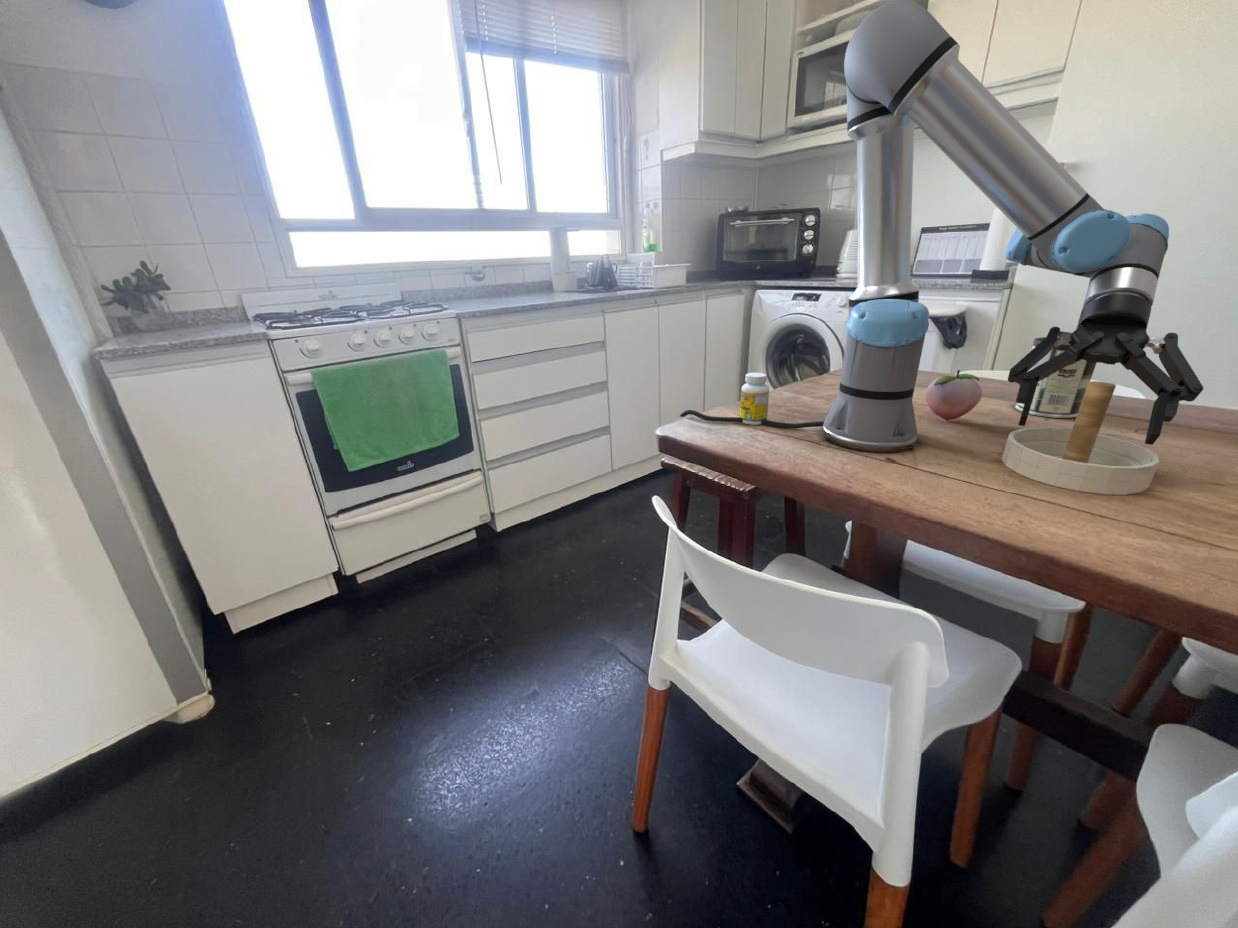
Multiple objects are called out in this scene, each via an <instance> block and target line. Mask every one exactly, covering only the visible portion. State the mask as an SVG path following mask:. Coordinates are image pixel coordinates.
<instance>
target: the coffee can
mask: <svg viewBox="0 0 1238 928" xmlns="http://www.w3.org/2000/svg"><path fill="white" fill-rule="evenodd" d="M1046 337H1047V336H1045V337H1036V338H1034V339H1033V341H1032V343H1033V344H1032V348H1031V351H1032V350H1033V349H1034V348H1035V347H1036V346H1037V345H1038V344H1040V343H1041V342H1042V341H1043V340H1044V339H1045V338H1046ZM1069 347H1071V345H1070V344H1069V342H1068V341H1066V342H1063V343H1062V344H1061V345H1059V346H1057V347H1053V348H1052V350H1051V351H1050V352H1049V353H1048V354H1047V355H1046V356H1044V357H1043V358H1042V359H1041V360H1040V361H1039V362H1038V363H1036V364H1035V365H1034V366H1033V367H1032V368H1031V369H1030V370H1032V369H1034V368H1035V367H1037V366H1039V365H1041V364H1043V363H1044V362H1046V361H1048V360H1050V359H1052V358H1054V357H1055V356H1057V355H1059V354H1061V353H1063V352H1064V351H1066V350H1067V349H1068V348H1069ZM1096 365H1097V363H1087V361H1085V360H1083V359H1082V360H1080V361H1078V362H1076V363H1074V364H1072V365H1068V366H1066V367H1064V368H1063V369H1061V370H1059V371H1057V372H1055V373H1053V374H1052V375H1050V376H1048V377H1046V378H1044V379H1042V380H1041V381H1039V382H1038V384H1037V387H1036V390H1035V394H1034V397H1033V401H1032V404H1031V407H1030V411H1029V414H1028V415H1033V416H1038V417H1044V418H1053V419H1054V418H1055V419H1072V418H1076V417H1077V414H1078V411H1079V408H1080V405H1081V402H1082V400H1083V397H1084V394H1085V391H1086V388H1087V385H1088V382H1091V380H1092V377H1093V374H1094V371H1095V369H1096ZM1030 370H1029V371H1030ZM1027 372H1028V371H1027ZM1014 408H1015V409H1016V410H1017V411H1019V412H1022V411H1023V408H1024V404H1021V403H1017V402H1016V404H1015V406H1014Z"/></svg>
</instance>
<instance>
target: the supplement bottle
mask: <svg viewBox="0 0 1238 928" xmlns="http://www.w3.org/2000/svg"><path fill="white" fill-rule="evenodd" d="M767 377H768V375H767V374H766V373H764V372H749V373H746V374H745V377H744V378H745V382H746V383H744V384H743V385H742V386H741V388H740V389H741V390H740V406H739V407H740V408H739V417H741V418H742V419H743V422H741V423H742V424H746V425H749V426H750V425H751V426H759V425H762V424H761V421H762V420H768V410H769V401H770V400H769V399H770V387H769V385H768V384H766V383H767V381H768V379H767Z"/></svg>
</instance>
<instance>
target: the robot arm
mask: <svg viewBox="0 0 1238 928" xmlns="http://www.w3.org/2000/svg"><path fill="white" fill-rule="evenodd" d="M960 48H961V45H960V44H959V42H957V40H956V39H954V37H953V36H951V35H950V34H949V32H947V30H946V29H945V28H944V27H943V25H941V23H940V22H939V21H938V20H937V18H935V16H934V15H933V14H931V12H929V10H927V8H926V7H925V6H923V5H921V4H920V3H918V2H916V1H914V0H892V1H888V2H886V3H884V4H881V5H880V6H877V7H876V8H875V9H873V10H872V11H870V13H869V14H868V15H866V16H865V17H864V18H863V20H862V21H861V22H860V23H859V24H858V25H857V27H856V28H855V30H854V31H853V34H852V35H851V37H850V39H849V42H848V43H847V47H846V50H845V54H844V61H843V69H844V71H843V72H844V78H845V83H846V114H847V115H846V124H847V125H846V132H847V133H846V134H847V137H849V138H850V139H851V140H852V141H854V142H855V143H856V213H857V214H856V216H857V217H856V248H857V249H856V254H857V255H856V263H857V264H856V265H857V266H856V269H857V270H856V271H857V273H856V277H857V278H856V281H857V282H856V285H857V286H856V288H855V290H854V291H853V292H852V293H851V294H850V296H848V320H847V323H846V328H847V332H846V338H845V347H844V353H843V360H842V367H841V373H840V380H839V387H838V393H837V396H836V397H835V399H834V402H833V403H832V406H831V407H830V409H829V411H828V413H827V415H826V417H825V420H824V421H823V420H821V421H808V422H807V421H806V422H798V423H796V422H795V423H791V422H790V423H789V422H780V421H774V420H769V419H767V420H762V421H761V424H760V425H766V426H770V427H776V428H784V429H803V428H804V429H805V428H817V427H822V430H821V431H822V432H821V434H822V437H823V438H824V439H826V440H827V441H829V442H830V443H833V444H835V445H837V446H839V447H844V448H847V449H852V450H856V451H863V452H871V453H874V452H875V453H895V452H896V453H897V452H903V451H906V450H909V449H912V448H913V447H914V445H915V444H916V442H917V438H918V428H917V427H918V426H917V421H916V416H915V410H914V403H913V397H914V392H915V388H916V382H917V379H918V372H919V369H920V364H921V363H920V362H921V358H922V353H923V348H924V343H925V340H926V339H925V338H926V333H928V331H929V327H930V321H929V317H930V311H929V308H928V307H927V306H926V305H925V304H924V303H921V302H920V301H919V299H920V297H919V295H920V288H919V287H918V286H917V285H916V284H914V282H912V281H911V249H912V248H911V247H912V217H913V214H912V213H913V183H914V181H913V180H914V153H915V151H914V149H915V128H916V127H918V128H919V129H920V130H921V131H922V132H923V133H924V134H925V135H926V136H927V137H928V138H929V139H930V140H931V141H932V143H934V144H935V145H936V146H937V147H938V148H939V149H940V151H941V152H943V154H944V155H945V156H946V157H947V158H948V159H949V160H950V161H951V162H952V163H953V164H954V165H955V166H956V167H957V168H958V169H959V170H960V171H961V172H962V173H963V174H964V175H965V176H966V177H967V178H968V180H970V181H971V182H972V183H973V185H975V186H976V187H977V188H978V189H979V190H980V191H981V192H982V193H983V194H984V195H985V196H986V198H987V199H989V200H990V202H992V203H993V205H995V207H996V208H997V209H998V210H1000V212H1001V213H1002V214H1003V215H1004V216H1005V217H1006V218H1007V219H1008V220H1009V221H1010V222H1011V223H1013V225H1014V226H1015V227H1016V228H1015V230H1014V231H1013V233H1012V235H1011V237H1010V239H1009V241H1008V244H1007V246H1006V248H1005V253H1004V256H1005V259H1006V260H1007V261H1009V262H1012V263H1017V264H1019V265H1022V266H1026V267H1027V266H1029V267H1032V268H1033V267H1035V268H1037V269H1038V268H1039V269H1043V270H1047V271H1054V272H1059V273H1064V274H1070V275H1073V276H1076V277H1083V278H1087V279H1089V282H1088V287H1087V290H1086V294H1085V297H1084V300H1083V304H1082V309H1081V311H1080V315H1079V318H1078V321H1077V326H1076V328H1075V330H1074V331H1072V332H1069V331H1063V330H1061V328H1060V327H1059V326H1052V327H1050V328H1049V331H1048V333H1047V335H1046V336H1045V337H1046V338H1045V339H1044V340H1043V341H1042V342H1041V343H1040V344H1038V345H1037V346H1036V347H1035V348H1034V349H1033V350H1032V349H1031V350H1030V351H1029V352H1028V353H1027V354H1026V355H1025V356H1024V357H1022V358H1021V359H1019V361H1018V362H1017V363H1015V365H1014V366H1012V367H1011V368H1010V369H1009V373H1008V376H1007V381H1008V382H1009V383H1016V384H1018V385H1019V388H1018V392H1017V396H1016V398H1015V402H1016V404H1017V403H1021V404H1024V408H1023V411H1021V414H1020V417H1019V421H1018V426H1021V427H1022V426H1023V427H1025V426H1026V424H1027V420H1028V418H1029V415H1030V414H1029V411H1030V407H1031V404H1032V401H1033V397H1034V394H1035V390H1036V387H1037V384H1038V382H1039V381H1041V380H1042V379H1044V378H1046V377H1048V376H1050V375H1052V374H1053V373H1055V372H1057V371H1059V370H1061V369H1063V368H1064V367H1066V366H1068V365H1072V364H1074V363H1076V362H1078V361H1080V360H1082V359H1083V360H1085V361H1087V363H1096V364H1098V363H1101V364H1106V365H1111V366H1112V365H1114V366H1115V365H1116V364H1120V365H1121V366H1123V368H1124V369H1126V371H1131V372H1132V373H1133V374H1134V375H1135V377H1137V378H1138V379H1139V380H1141V382H1142V383H1144V385H1146V386H1147V388H1149V389H1150V391H1152V392H1153V393H1154V394H1155V395H1156V396H1157V398H1156V399H1155V401H1154V402H1153V405H1152V411H1151V415H1150V418H1149V423H1148V428H1147V432H1146V436H1145V441H1144V445H1151V446H1152V445H1154V444H1155V443H1156V441H1157V440H1158V439H1159V437H1160V436H1161V433H1162V428H1163V425H1164V423H1171V421H1172V420H1174V418H1175V417H1176V416H1177V413H1178V408H1179V406H1180V405H1179V404H1180V402H1181V401H1185V402H1194V401H1195V400H1196V399H1197V398H1198V397H1199V396H1200V395H1201V393H1202V392H1203V391H1204V385H1203V384H1202V383H1201V381H1200V380H1199V379H1200V378H1198V376H1197V375H1196V373H1195V371H1194V370H1193V368H1192V366H1191V365H1190V363H1189V362H1188V360H1187V358H1186V356H1185V355H1184V353H1183V352H1182V350H1181V349H1180V347H1179V335H1178V333H1176V332H1167V333H1166V334H1165V335H1164V336H1149V334H1148V332H1147V330H1148V326H1149V321H1150V317H1151V313H1152V307H1153V305H1154V301H1155V297H1156V296H1155V295H1156V292H1157V287H1158V283H1159V278H1160V275H1161V270H1162V267H1163V263H1164V259H1165V255H1166V253H1167V251H1168V249H1169V248H1168V247H1169V237H1170V228H1169V223H1168V222H1167V221H1166V219H1164V218H1163V217H1162V216H1159V215H1157V214H1153V213H1142V214H1136V215H1133V214H1131V215H1126V216H1124V215H1123V214H1121V213H1120V212H1116V211H1113V210H1111V209H1106V208H1104V207H1102V205H1101V204H1099V202H1097V200H1096V199H1095V198H1094V197H1093V196H1091V195H1090V193H1088V192H1087V190H1086V189H1085V188H1084V187H1083V186H1082V185H1081V184H1080V183H1079V182H1078V181H1077V180H1076V179H1075V178H1074V177H1073V176H1072V175H1071V174H1070V173H1069V172H1068V171H1067V170H1066V169H1065V168H1064V167H1063V165H1061V164H1060V163H1059V162H1058V160H1056V158H1055V157H1054V156H1053V155H1052V154H1051V153H1050V152H1049V151H1048V150H1047V149H1046V148H1045V147H1044V146H1043V145H1042V144H1041V143H1040V142H1039V141H1038V140H1037V139H1036V138H1035V137H1034V136H1033V135H1032V133H1030V132H1029V131H1028V130H1027V129H1026V128H1025V126H1023V125H1022V123H1020V122H1019V120H1018V119H1017V118H1016V117H1015V116H1014V115H1013V114H1012V113H1011V112H1010V111H1009V110H1008V109H1007V108H1006V107H1005V106H1004V105H1003V104H1002V103H1001V101H999V100H998V99H997V98H996V97H995V95H994V94H992V93H991V91H989V89H987V88H986V87H985V85H984V84H983V83H982V82H981V81H980V80H979V79H978V78H977V77H976V76H975V75H974V74H973V73H972V72H971V71H970V70H969V69H968V67H966V66H965V65H964V64H963V63H962V61H960V59H959V57H960V55H959V54H960ZM1066 341H1068V342H1069V344H1070V345H1071V347H1069V348H1068V349H1067V350H1066V351H1064V352H1063V353H1061V354H1059V355H1057V356H1055V357H1054V358H1052V359H1050V360H1048V361H1046V362H1044V363H1043V364H1041V365H1039V366H1037V367H1035V368H1034V369H1032V370H1030V369H1031V368H1032V367H1033V366H1034V365H1035V364H1036V363H1038V362H1039V361H1040V360H1041V359H1042V358H1043V357H1044V356H1046V355H1047V354H1048V353H1049V352H1050V351H1051V350H1052V348H1053V347H1057V346H1059V345H1061V344H1062V343H1063V342H1066ZM1146 347H1147V348H1151V350H1152V351H1153V353H1154V355H1158V358H1159V361H1160V363H1161V365H1162V366H1163V368H1164V370H1165V371H1164V370H1163V369H1161V368H1160V366H1158V365H1157V364H1156V363H1155V362H1154V361H1153V360H1152V359H1150V357H1148V356H1147V352H1146V350H1144V349H1145V348H1146ZM1029 370H1030V371H1029ZM1027 371H1028V372H1027ZM688 415H692V416H695V417H697V418H699V419H700V420H704V421H709V422H718V423H742V422H743V419H742V418H741V417H740V416H738V417H737V416H732V417H731V416H711V415H706V414H703V413H701V412H698V411H696V410H693V409H687V410H685V411H683V412H682V413H681V414H679V417H680V418H684V417H687V416H688Z"/></svg>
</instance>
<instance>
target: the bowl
mask: <svg viewBox="0 0 1238 928" xmlns="http://www.w3.org/2000/svg"><path fill="white" fill-rule="evenodd" d="M1071 431H1072V429H1069V428H1058V427H1057V428H1056V427H1027V428H1026V427H1025V428H1018V429H1016V430H1013V431H1010V433H1009V434H1008V437H1007V440H1006V444H1005V447H1004V450H1003V454H1002V457H1001V461H1002V463H1003V464H1004V466H1005V467H1006V468H1008V469H1010V470H1011V471H1013V472H1015V473H1016V474H1018V475H1021V476H1023V477H1025V478H1027V479H1030V480H1032V481H1036V482H1039V483H1042V484H1046V485H1049V486H1051V487H1052V486H1053V487H1057V488H1061V489H1067V490H1071V491H1076V492H1082V493H1089V494H1090V493H1091V494H1097V495H1098V494H1099V495H1111V496H1112V495H1117V496H1126V495H1134V494H1139V493H1143V492H1144V491H1146V490H1148V489H1149V488H1150V486H1151V484H1152V481H1153V478H1154V476H1155V474H1156V471H1157V470H1158V467H1159V464H1160V457H1159V455H1158V454H1156V453H1155V452H1154V451H1152V450H1151V449H1149V448H1146V447H1144V446H1142V445H1139V444H1137V443H1135V442H1132V441H1128V440H1124V439H1121V438H1118V437H1115V436H1109V435H1105V434H1102V433H1101V434H1100V433H1098V436H1097V439H1096V441H1095V444H1094V447H1093V449H1092V452H1091V455H1090V458H1089V460H1088V463H1090V464H1088V463H1082V462H1077V461H1071V460H1066V459H1061V458H1063V455H1064V452H1065V449H1066V446H1067V443H1068V440H1069V437H1070V434H1071Z"/></svg>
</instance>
